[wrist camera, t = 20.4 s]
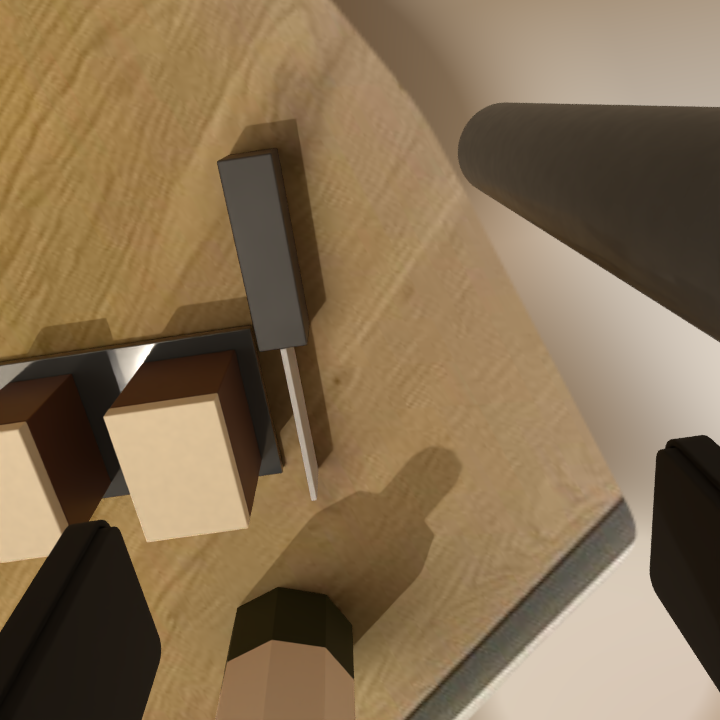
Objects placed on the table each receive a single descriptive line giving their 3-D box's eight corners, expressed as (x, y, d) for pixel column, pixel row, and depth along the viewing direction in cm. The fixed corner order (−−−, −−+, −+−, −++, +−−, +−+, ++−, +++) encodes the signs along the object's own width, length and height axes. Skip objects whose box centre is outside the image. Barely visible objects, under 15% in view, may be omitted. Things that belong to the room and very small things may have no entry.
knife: (227, 155, 29) (216, 161, 26) (277, 147, 29) (271, 152, 26) (295, 472, 36) (292, 503, 33) (335, 467, 36) (336, 497, 33)
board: (251, 324, 32) (249, 328, 32) (283, 467, 36) (282, 473, 35) (-26, 365, 33) (-32, 370, 32) (33, 503, 36) (28, 509, 36)
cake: (235, 348, 32) (214, 400, 27) (262, 461, 35) (248, 528, 30) (141, 362, 32) (102, 416, 27) (176, 473, 35) (146, 543, 30)
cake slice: (71, 373, 33) (18, 429, 27) (111, 482, 35) (70, 554, 30) (7, 382, 33) (-60, 440, 27) (52, 491, 35) (-1, 563, 30)
